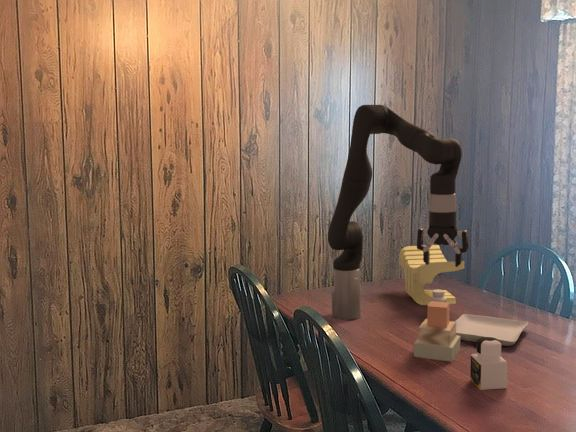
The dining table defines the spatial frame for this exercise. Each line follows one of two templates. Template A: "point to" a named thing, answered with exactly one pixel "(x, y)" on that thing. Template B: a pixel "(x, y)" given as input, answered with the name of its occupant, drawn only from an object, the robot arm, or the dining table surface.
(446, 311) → the cube
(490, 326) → the salad plate
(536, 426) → the dining table surface
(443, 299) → the supplement bottle
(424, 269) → the slatted curved stool
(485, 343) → the medicine bottle
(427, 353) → the base block
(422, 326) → the top block
